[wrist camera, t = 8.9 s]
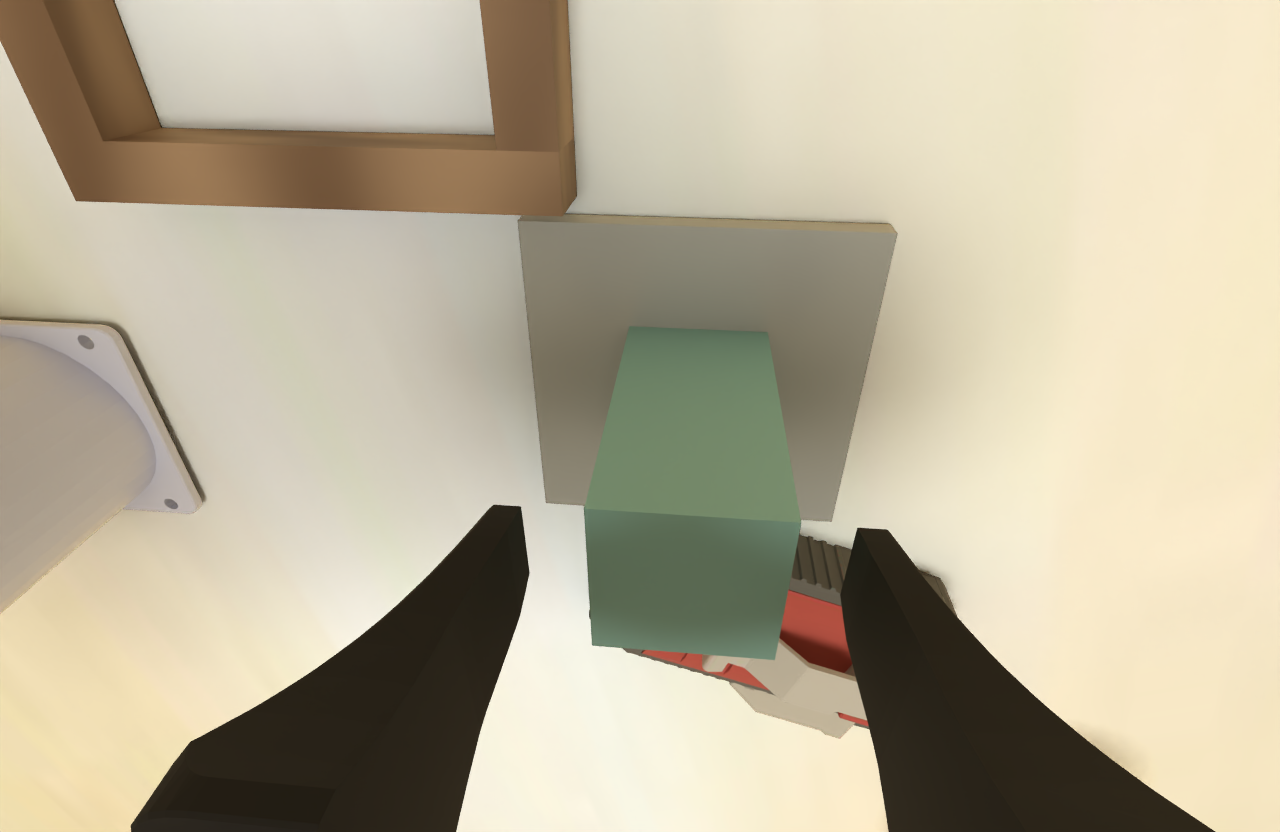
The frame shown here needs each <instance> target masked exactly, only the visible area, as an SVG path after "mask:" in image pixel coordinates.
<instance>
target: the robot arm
mask: <svg viewBox="0 0 1280 832" xmlns="http://www.w3.org/2000/svg"><path fill="white" fill-rule="evenodd" d="M201 505H202V501H201V498H200V496H199V494H198V492H197V490H196V488H195V486H194V484H193V482H192V480H191V478H190V476H189V474H188V471H187V469H186V467H185V465H184V463H183V461H182V459H181V457H180V455H179V453H178V451H177V449H176V447H175V445H174V443H173V441H172V439H171V437H170V435H169V433H168V431H167V429H166V427H165V424H164V422H163V420H162V418H161V416H160V414H159V412H158V410H157V408H156V406H155V404H154V402H153V400H152V398H151V396H150V394H149V392H148V390H147V388H146V386H145V384H144V382H143V379H142V377H141V375H140V373H139V371H138V369H137V367H136V365H135V363H134V361H133V359H132V357H131V355H130V353H129V351H128V349H127V347H126V345H125V343H124V341H123V339H122V337H121V336H120V334H119V333H118V332H117V331H116V330H115V329H113V328H111V327H109V326H106V325H102V324H82V323H60V322H39V321H18V320H0V614H1V613H2V612H3V611H4V610H6V609H7V608H8V607H9V606H10V605H11V604H13V603H14V602H15V601H16V600H17V599H18V598H19V597H21V596H22V595H23V594H24V593H25V592H26V591H28V590H29V589H30V588H31V587H32V586H33V585H35V584H36V583H37V582H38V581H39V580H40V579H42V578H43V577H44V576H45V575H46V574H47V573H49V572H50V571H51V570H52V569H53V568H54V567H55V566H57V565H58V564H59V563H60V562H61V561H62V560H64V559H65V558H66V557H67V556H68V555H69V554H71V553H72V552H73V551H74V550H75V549H76V548H78V547H79V546H80V545H81V544H82V543H83V542H84V541H86V540H87V539H88V538H89V537H90V536H91V535H93V534H94V533H95V532H96V531H97V530H98V529H100V528H101V527H102V526H103V525H104V524H105V523H107V522H108V521H109V520H110V519H111V518H112V517H114V516H115V515H116V514H117V513H118V512H119V511H120V510H122V509H130V510H144V511H158V512H173V513H187V514H190V513H194V512H196V511H197V510H198V509H199V508H200V507H201ZM528 577H529V566H528V558H527V550H526V542H525V535H524V527H523V519H522V511H521V507H519V506H504V505H493V506H492V507H491V508H489V509H488V511H487V512H486V513H485V514H484V515H483V516H482V517H481V519H480V520H479V521H478V522H477V523H476V524H475V525H474V527H473V528H472V529H471V530H470V531H469V532H468V533H467V535H466V536H465V537H464V538H463V539H462V540H461V541H460V542H459V543H458V545H457V546H456V547H455V548H454V549H453V550H452V551H451V552H450V553H449V554H448V555H447V556H446V557H445V558H444V559H443V561H442V562H441V563H440V564H439V565H438V566H437V567H436V568H435V569H434V570H433V571H432V572H431V573H430V574H429V575H428V576H427V577H426V578H425V579H424V580H423V581H422V582H421V583H420V584H419V585H418V586H417V587H416V588H415V589H414V590H412V591H411V592H410V593H409V594H408V595H407V596H406V597H405V598H404V599H403V600H402V601H401V602H400V603H399V604H398V605H397V606H395V607H394V608H393V609H392V610H391V611H390V612H389V613H387V614H386V615H385V616H384V617H383V618H382V619H381V620H379V621H378V622H377V623H376V624H375V625H373V626H372V627H371V628H370V629H368V630H367V631H366V632H365V633H364V634H362V635H361V636H360V637H359V638H357V639H356V640H355V641H353V642H352V643H351V644H349V645H348V646H347V647H345V648H344V649H343V650H341V651H340V652H339V653H337V654H336V655H334V656H333V657H332V658H330V659H329V660H327V661H326V662H325V663H323V664H322V665H320V666H319V667H318V668H316V669H315V670H313V671H312V672H310V673H309V674H307V675H306V676H304V677H303V678H301V679H300V680H298V681H297V682H295V683H293V684H292V685H290V686H289V687H287V688H286V689H284V690H282V691H281V692H279V693H278V694H276V695H274V696H273V697H271V698H269V699H268V700H266V701H264V702H263V703H261V704H259V705H258V706H256V707H254V708H252V709H251V710H249V711H247V712H245V713H243V714H242V715H240V716H238V717H236V718H234V719H232V720H231V721H229V722H227V723H225V724H223V725H221V726H219V727H218V728H216V729H214V730H212V731H210V732H208V733H207V734H205V735H203V736H201V737H199V738H197V739H195V740H193V741H191V742H190V743H189V744H188V745H187V747H186V748H185V749H184V751H183V752H182V753H181V754H180V756H179V757H178V758H177V760H176V761H175V762H174V763H173V765H172V766H171V768H170V769H169V771H168V772H167V773H166V775H165V776H164V778H163V779H162V781H161V782H160V784H159V785H158V787H157V788H156V790H155V791H154V792H153V794H152V795H151V797H150V798H149V800H148V801H147V803H146V804H145V806H144V807H143V809H142V810H141V811H140V813H139V814H138V816H137V817H136V819H135V820H134V822H133V823H132V824H131V832H456V830H457V825H458V821H459V816H460V812H461V808H462V804H463V799H464V795H465V791H466V786H467V782H468V778H469V774H470V770H471V766H472V762H473V758H474V754H475V750H476V746H477V742H478V738H479V734H480V730H481V727H482V724H483V720H484V717H485V714H486V711H487V708H488V705H489V702H490V699H491V697H492V694H493V691H494V688H495V685H496V683H497V680H498V677H499V674H500V671H501V668H502V666H503V663H504V660H505V657H506V654H507V652H508V649H509V646H510V643H511V640H512V637H513V634H514V632H515V629H516V626H517V623H518V620H519V617H520V613H521V609H522V605H523V600H524V596H525V591H526V586H527V582H528ZM840 597H841V605H842V613H843V621H844V628H845V635H846V641H847V645H848V649H849V653H850V657H851V661H852V665H853V669H854V673H855V677H856V680H857V684H858V688H859V692H860V695H861V699H862V703H863V707H864V711H865V714H866V718H867V722H868V726H869V729H870V733H871V737H872V741H873V745H874V749H875V754H876V758H877V763H878V768H879V774H880V780H881V786H882V792H883V798H884V804H885V810H886V817H887V823H888V830H889V832H1215V831H1213V830H1212V829H1210V828H1209V827H1207V826H1206V825H1204V824H1203V823H1202V822H1200V821H1199V820H1197V819H1196V818H1194V817H1193V816H1191V815H1190V814H1188V813H1187V812H1185V811H1184V810H1182V809H1181V808H1179V807H1178V806H1176V805H1175V804H1173V803H1172V802H1170V801H1169V800H1167V799H1166V798H1164V797H1163V796H1161V795H1160V794H1158V793H1157V792H1155V791H1154V790H1152V789H1151V788H1150V787H1148V786H1147V785H1145V784H1144V783H1143V782H1141V781H1140V780H1139V779H1137V778H1136V777H1135V776H1133V775H1132V774H1131V773H1129V772H1128V771H1126V770H1125V769H1124V768H1122V767H1121V766H1120V765H1118V764H1117V763H1116V762H1114V761H1113V760H1112V759H1110V758H1109V757H1108V756H1106V755H1105V754H1104V753H1102V752H1101V751H1100V750H1099V749H1097V748H1096V747H1095V746H1094V745H1092V744H1091V743H1090V742H1088V741H1087V740H1086V739H1085V738H1083V737H1082V736H1081V735H1080V734H1079V733H1077V732H1076V731H1075V730H1074V729H1073V728H1071V727H1070V726H1069V725H1068V724H1067V723H1065V722H1064V721H1063V720H1062V719H1061V718H1059V717H1058V716H1057V715H1056V714H1055V713H1053V712H1052V711H1051V710H1050V709H1049V708H1048V707H1046V706H1045V705H1044V704H1043V703H1042V702H1041V701H1040V700H1038V699H1037V698H1036V697H1035V696H1034V695H1033V694H1032V693H1031V692H1030V691H1029V690H1028V689H1026V688H1025V687H1024V686H1023V685H1022V684H1021V683H1020V682H1019V681H1018V680H1017V679H1016V678H1015V677H1014V676H1013V675H1012V674H1011V673H1010V672H1008V671H1007V670H1006V669H1005V668H1004V667H1003V666H1002V665H1001V664H1000V663H999V662H998V661H997V660H996V659H995V658H994V657H993V656H992V655H991V654H990V653H989V652H988V650H987V649H986V648H985V647H984V646H983V645H982V644H981V643H980V642H979V641H978V640H977V639H976V637H975V636H974V635H973V634H972V633H971V632H970V631H969V630H968V629H967V628H966V626H965V625H964V624H963V623H962V622H961V621H960V620H959V619H958V617H957V616H956V615H955V614H954V613H953V611H952V610H951V609H950V608H949V607H948V605H947V604H946V603H945V602H944V601H943V600H942V598H941V597H940V596H939V595H938V594H937V592H936V591H935V590H934V589H933V587H932V586H931V585H930V584H929V582H928V581H927V580H926V579H925V577H924V576H923V575H922V574H921V572H920V571H919V570H918V568H917V567H916V566H915V565H914V563H913V562H912V561H911V559H910V558H909V557H908V555H907V554H906V553H905V551H904V550H903V549H902V548H901V546H900V545H899V544H898V542H897V541H896V540H895V538H894V537H893V536H892V534H891V533H890V532H889V531H888V530H884V529H869V528H857V532H856V536H855V540H854V544H853V547H852V551H851V555H850V559H849V563H848V567H847V570H846V574H845V578H844V582H843V586H842V590H841V593H840Z"/></svg>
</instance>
